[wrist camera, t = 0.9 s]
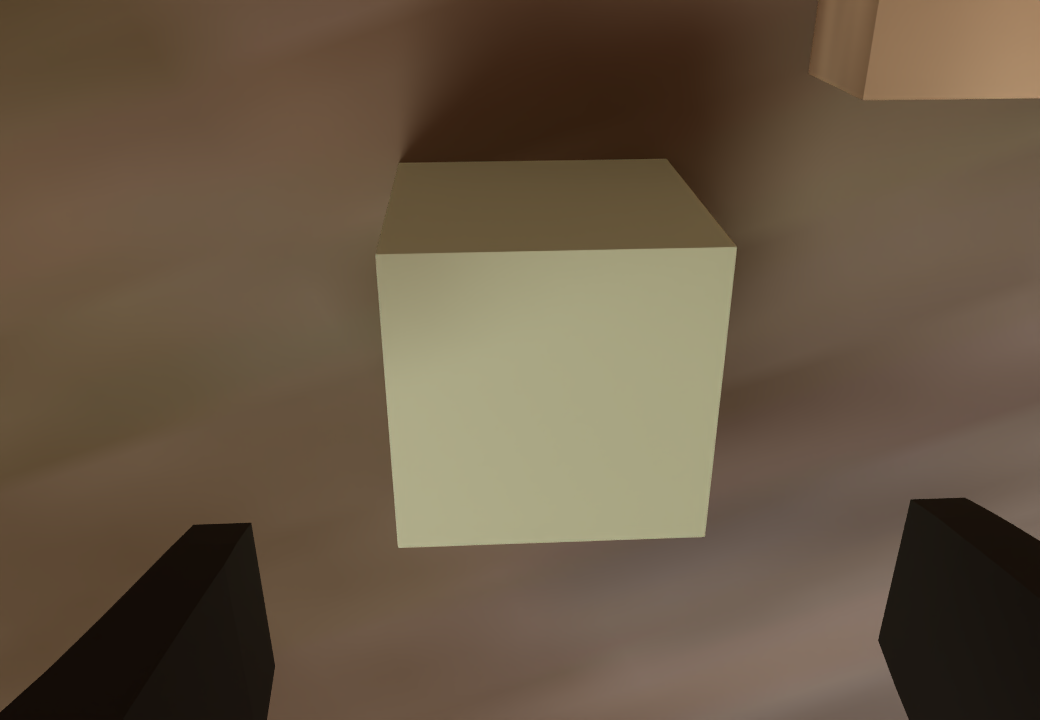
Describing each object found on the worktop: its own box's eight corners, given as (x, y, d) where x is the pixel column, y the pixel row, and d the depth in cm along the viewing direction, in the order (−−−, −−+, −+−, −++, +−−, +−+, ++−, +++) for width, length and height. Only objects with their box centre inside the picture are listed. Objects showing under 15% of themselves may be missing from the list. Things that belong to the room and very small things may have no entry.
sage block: (665, 157, 17) (737, 247, 13) (648, 390, 19) (704, 536, 15) (398, 161, 17) (374, 254, 12) (413, 397, 19) (398, 547, 15)
